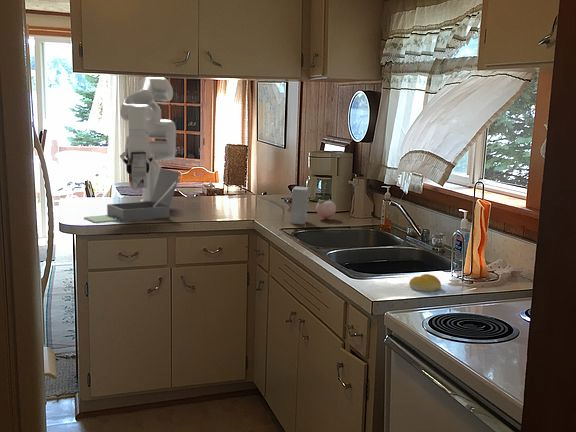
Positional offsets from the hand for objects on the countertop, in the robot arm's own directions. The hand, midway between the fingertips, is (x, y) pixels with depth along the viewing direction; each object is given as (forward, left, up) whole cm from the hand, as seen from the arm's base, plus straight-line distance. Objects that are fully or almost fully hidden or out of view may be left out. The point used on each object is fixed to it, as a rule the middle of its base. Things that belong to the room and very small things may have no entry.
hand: (138, 172), depth 285 cm
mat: (0, -18, -20) cm, 27 cm away
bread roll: (+149, +23, -20) cm, 152 cm away
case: (+1, +2, -20) cm, 20 cm away
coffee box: (0, 0, -7) cm, 7 cm away
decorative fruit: (+48, +71, -20) cm, 88 cm away
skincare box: (+48, +55, -20) cm, 76 cm away
